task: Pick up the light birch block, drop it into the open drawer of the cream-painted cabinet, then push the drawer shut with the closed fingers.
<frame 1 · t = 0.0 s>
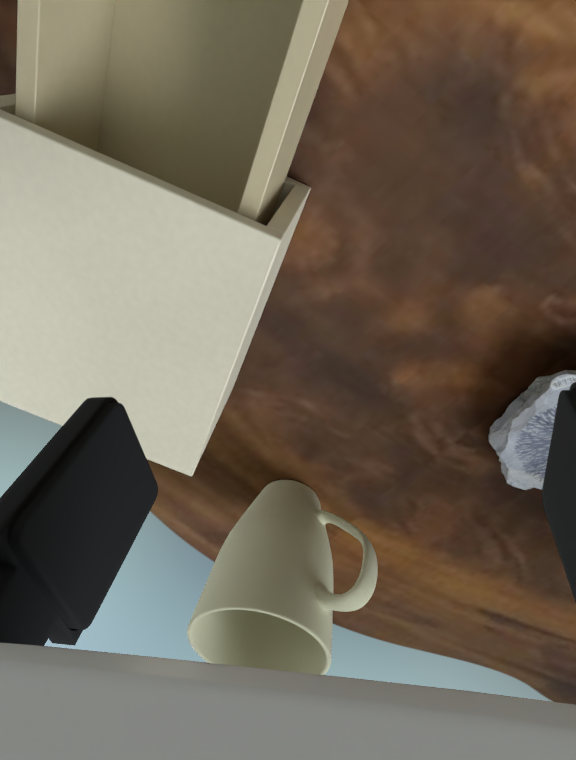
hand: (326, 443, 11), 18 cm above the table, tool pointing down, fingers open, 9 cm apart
drawer: (197, 7, 18), point 4 cm above the table, slide at 9.0 cm
mug: (299, 493, 39), on the table
cabinet: (169, 261, 29), on the table
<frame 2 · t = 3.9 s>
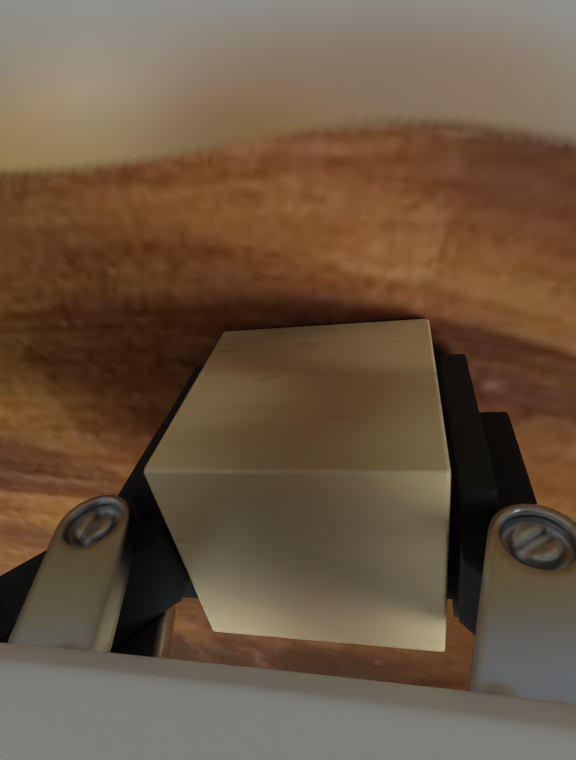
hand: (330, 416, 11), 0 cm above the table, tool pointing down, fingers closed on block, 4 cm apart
block: (332, 406, 12), on the table, touching gripper
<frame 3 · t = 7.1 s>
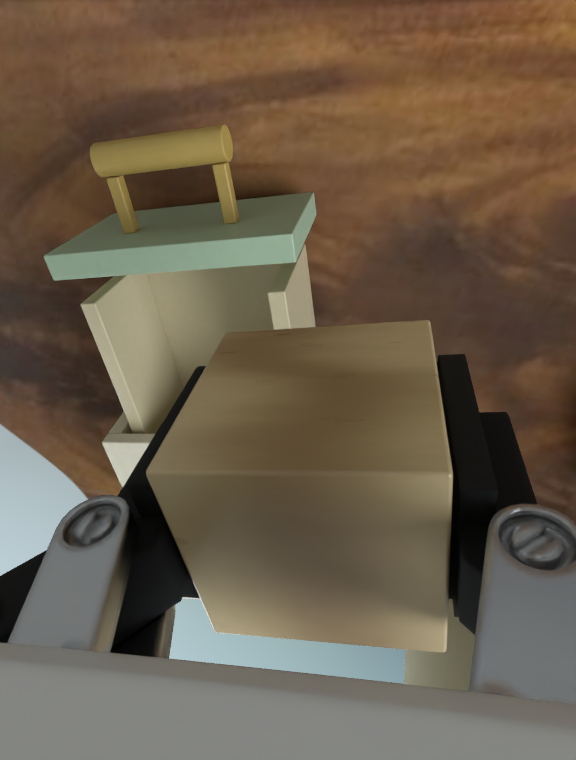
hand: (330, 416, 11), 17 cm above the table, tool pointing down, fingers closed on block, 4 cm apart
drawer: (209, 312, 26), point 4 cm above the table, slide at 9.0 cm
mug: (457, 572, 41), on the table
cabinet: (266, 440, 36), on the table
block: (333, 407, 12), point 17 cm above the table, touching gripper
when the fingers open (7 cm above the table, at t = 10.5 s): block drops 5 cm, resting on drawer.
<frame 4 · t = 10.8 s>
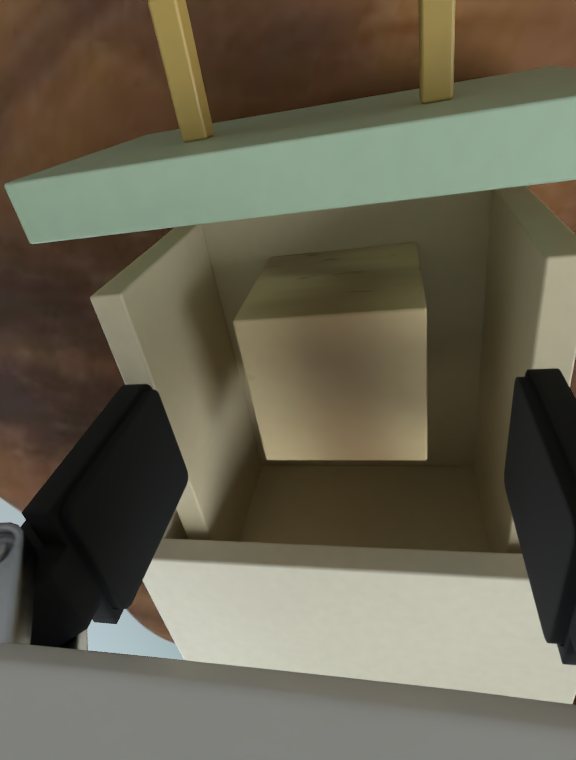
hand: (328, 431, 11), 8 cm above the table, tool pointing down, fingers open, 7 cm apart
drawer: (337, 311, 13), point 4 cm above the table, slide at 9.0 cm, touching block
cabinet: (371, 508, 24), on the table
block: (347, 315, 16), point 2 cm above the table, touching drawer
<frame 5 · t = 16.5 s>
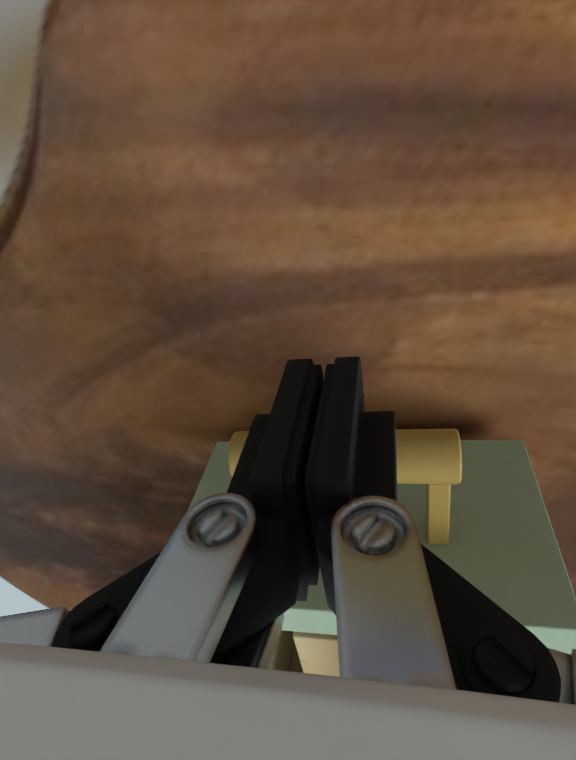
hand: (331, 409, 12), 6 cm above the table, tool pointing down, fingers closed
drawer: (364, 597, 18), point 4 cm above the table, slide at 7.9 cm, touching block, gripper
block: (368, 564, 21), point 2 cm above the table, touching drawer
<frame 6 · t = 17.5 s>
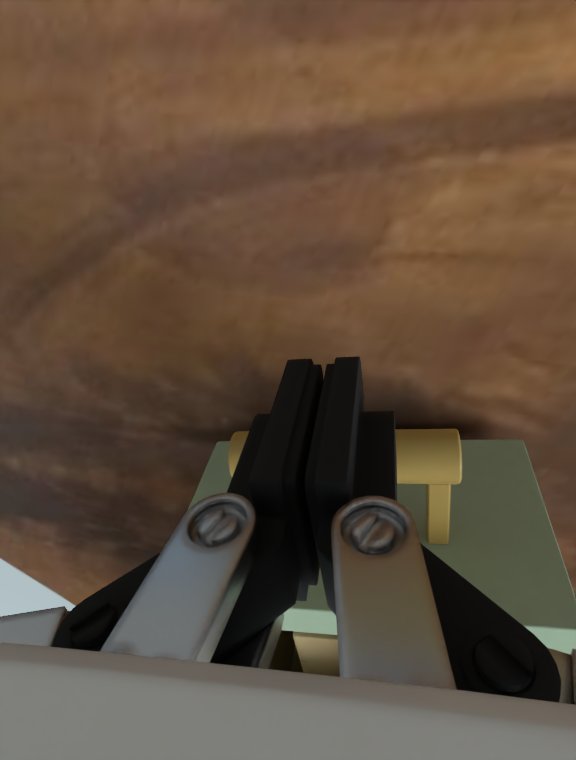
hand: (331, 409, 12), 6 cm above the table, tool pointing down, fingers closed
drawer: (364, 597, 18), point 4 cm above the table, slide at 3.8 cm, touching block, gripper
block: (368, 564, 21), point 2 cm above the table, touching drawer
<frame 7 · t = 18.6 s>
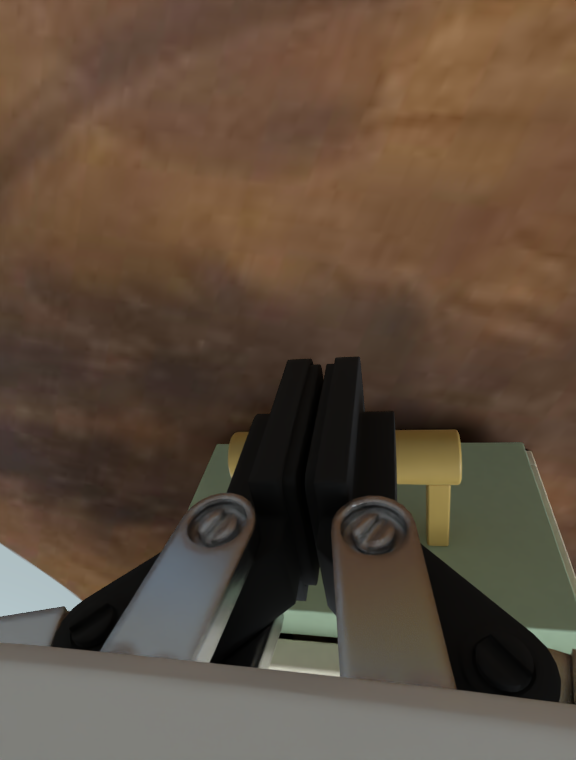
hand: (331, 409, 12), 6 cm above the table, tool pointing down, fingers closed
drawer: (364, 601, 18), point 4 cm above the table, slide at 0.0 cm, touching block, cabinet, gripper
cabinet: (373, 563, 23), on the table
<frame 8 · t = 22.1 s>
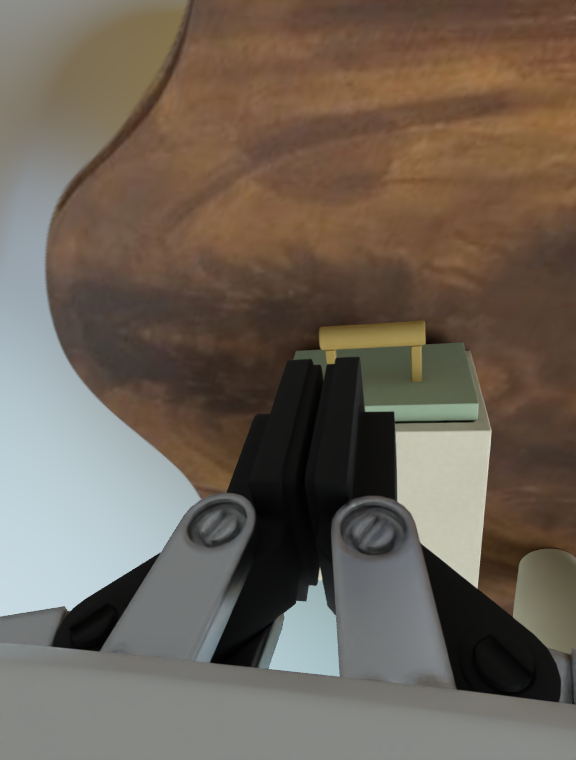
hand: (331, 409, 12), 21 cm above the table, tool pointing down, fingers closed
drawer: (379, 432, 33), point 4 cm above the table, slide at 0.0 cm, touching block, cabinet
mug: (553, 556, 43), on the table
cabinet: (382, 432, 39), on the table
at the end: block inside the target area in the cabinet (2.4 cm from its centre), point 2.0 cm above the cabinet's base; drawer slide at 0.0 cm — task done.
